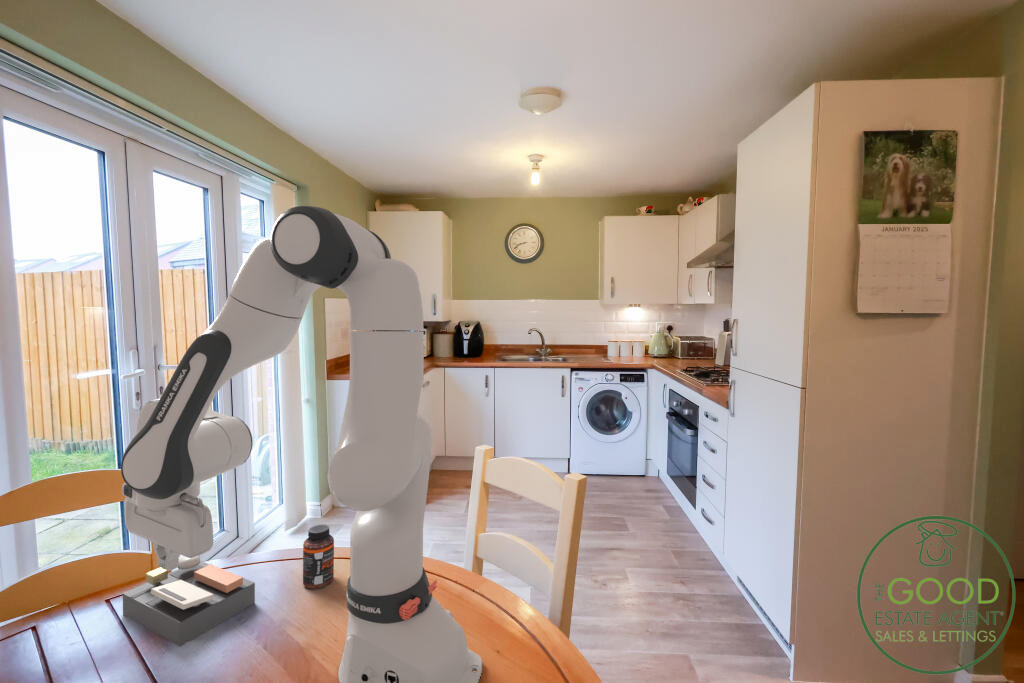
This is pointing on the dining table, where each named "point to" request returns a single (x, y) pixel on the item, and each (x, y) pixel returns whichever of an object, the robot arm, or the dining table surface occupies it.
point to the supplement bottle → (318, 557)
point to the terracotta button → (218, 578)
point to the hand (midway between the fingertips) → (168, 567)
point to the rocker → (182, 594)
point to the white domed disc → (188, 562)
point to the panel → (191, 620)
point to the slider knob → (156, 576)
